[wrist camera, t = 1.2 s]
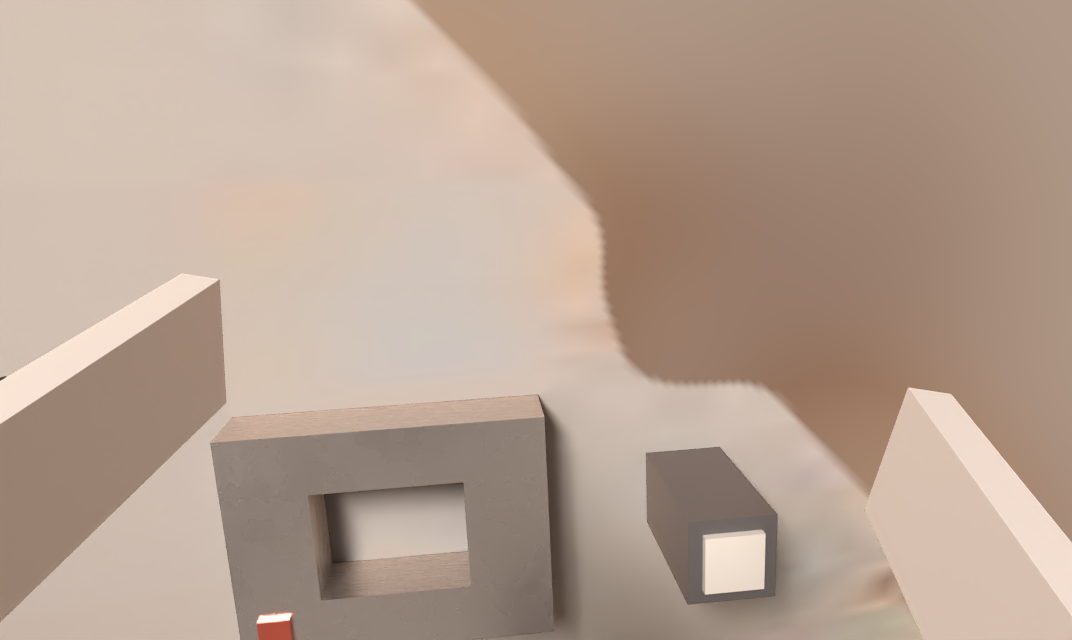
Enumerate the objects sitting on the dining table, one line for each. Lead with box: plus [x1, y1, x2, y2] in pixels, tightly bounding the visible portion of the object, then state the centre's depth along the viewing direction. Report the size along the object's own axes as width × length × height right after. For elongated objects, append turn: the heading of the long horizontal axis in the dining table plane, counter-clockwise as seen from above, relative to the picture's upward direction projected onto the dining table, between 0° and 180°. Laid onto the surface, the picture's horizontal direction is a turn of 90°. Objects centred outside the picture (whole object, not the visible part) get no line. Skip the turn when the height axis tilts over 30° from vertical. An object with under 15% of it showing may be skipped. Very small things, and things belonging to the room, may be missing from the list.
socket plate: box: [210, 395, 554, 640], centre depth 39 cm, size 12×16×4 cm
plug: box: [646, 447, 777, 604], centre depth 38 cm, size 4×4×8 cm
